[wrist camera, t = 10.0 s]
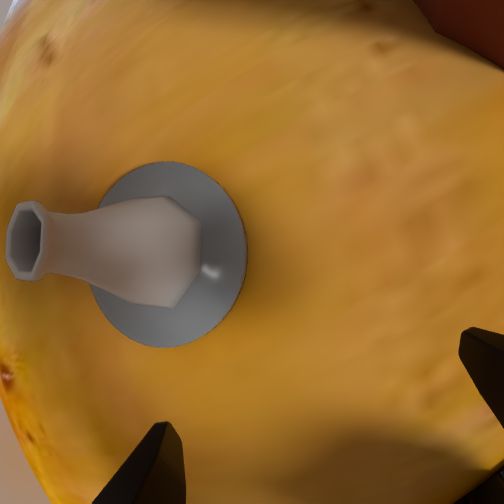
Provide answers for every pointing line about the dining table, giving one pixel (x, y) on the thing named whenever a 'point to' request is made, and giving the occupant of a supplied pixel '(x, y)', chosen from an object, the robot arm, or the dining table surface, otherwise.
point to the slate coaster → (211, 257)
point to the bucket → (469, 24)
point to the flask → (111, 248)
